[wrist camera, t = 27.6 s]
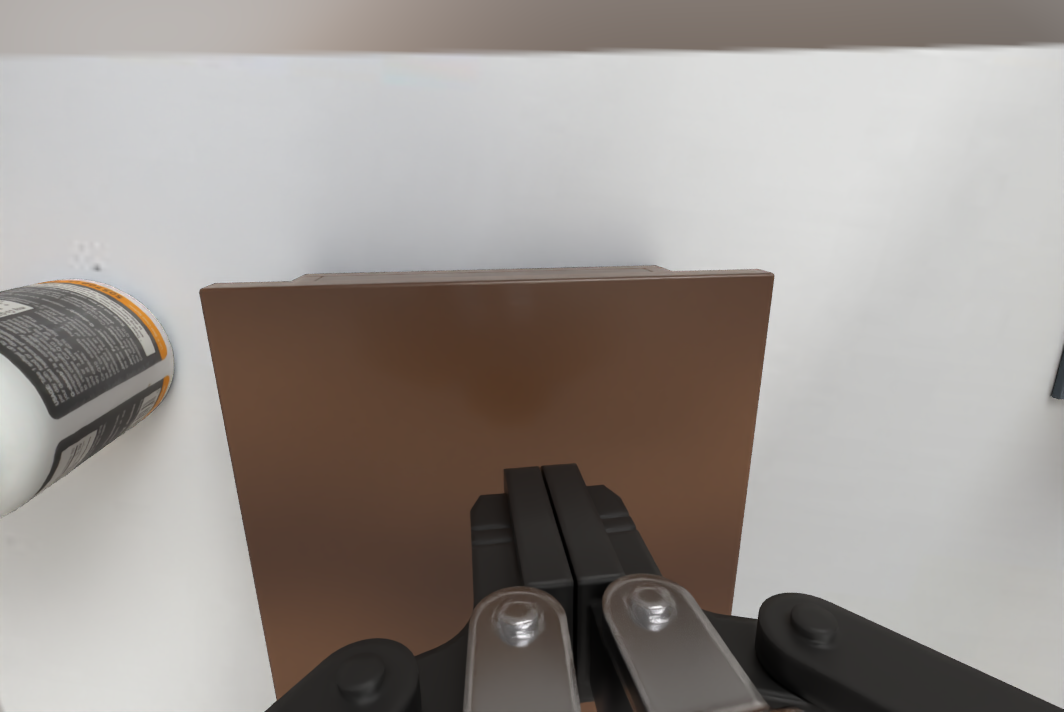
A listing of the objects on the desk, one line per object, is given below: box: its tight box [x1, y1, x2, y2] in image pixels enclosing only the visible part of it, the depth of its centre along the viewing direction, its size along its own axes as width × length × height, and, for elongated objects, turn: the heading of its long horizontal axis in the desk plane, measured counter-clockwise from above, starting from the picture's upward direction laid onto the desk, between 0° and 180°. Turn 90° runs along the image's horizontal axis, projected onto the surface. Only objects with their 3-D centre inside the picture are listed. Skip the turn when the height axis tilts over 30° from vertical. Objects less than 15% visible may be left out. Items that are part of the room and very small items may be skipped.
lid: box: [199, 269, 774, 712], centre depth 16 cm, size 16×14×1 cm
